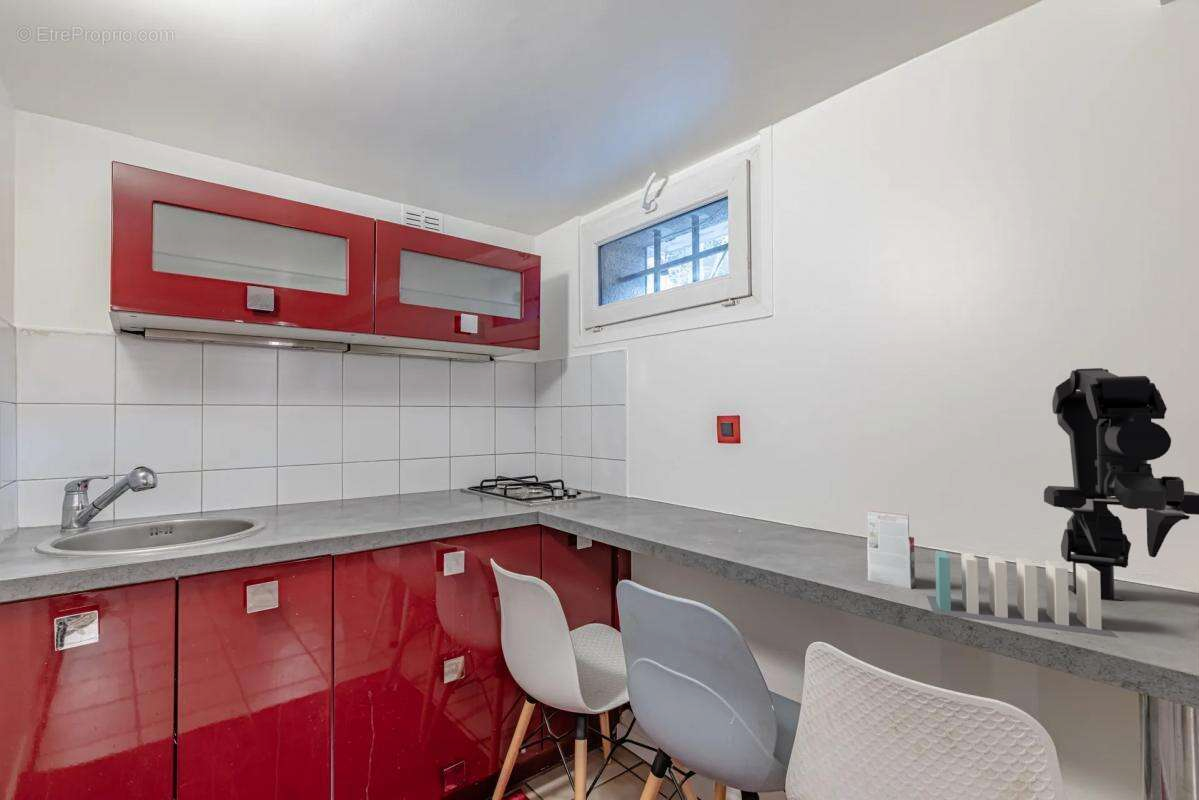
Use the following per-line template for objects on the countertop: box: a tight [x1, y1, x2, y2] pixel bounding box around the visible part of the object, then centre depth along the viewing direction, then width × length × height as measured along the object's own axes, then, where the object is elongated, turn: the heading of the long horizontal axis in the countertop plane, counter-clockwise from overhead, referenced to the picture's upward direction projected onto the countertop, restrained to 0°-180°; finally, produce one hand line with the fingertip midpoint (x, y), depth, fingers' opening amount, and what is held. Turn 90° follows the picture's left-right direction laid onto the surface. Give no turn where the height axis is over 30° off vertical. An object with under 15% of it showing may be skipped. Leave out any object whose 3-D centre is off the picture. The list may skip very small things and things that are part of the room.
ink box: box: [866, 510, 916, 590], centre depth 109 cm, size 4×8×15 cm, turn 47°
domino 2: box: [960, 552, 980, 614], centre depth 95 cm, size 2×5×9 cm, turn 155°
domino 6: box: [1075, 563, 1102, 630], centre depth 88 cm, size 2×5×9 cm, turn 155°
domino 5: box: [1045, 559, 1070, 626], centre depth 90 cm, size 2×5×9 cm, turn 155°
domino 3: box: [987, 554, 1009, 618], centre depth 93 cm, size 2×5×9 cm, turn 155°
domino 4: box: [1016, 557, 1039, 622], centre depth 91 cm, size 2×5×9 cm, turn 155°
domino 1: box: [934, 550, 952, 611], centre depth 96 cm, size 2×5×9 cm, turn 155°
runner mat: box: [926, 595, 1120, 639], centre depth 92 cm, size 10×24×1 cm, turn 65°
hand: (1124, 554), depth 86 cm, fingers open, 6 cm apart
